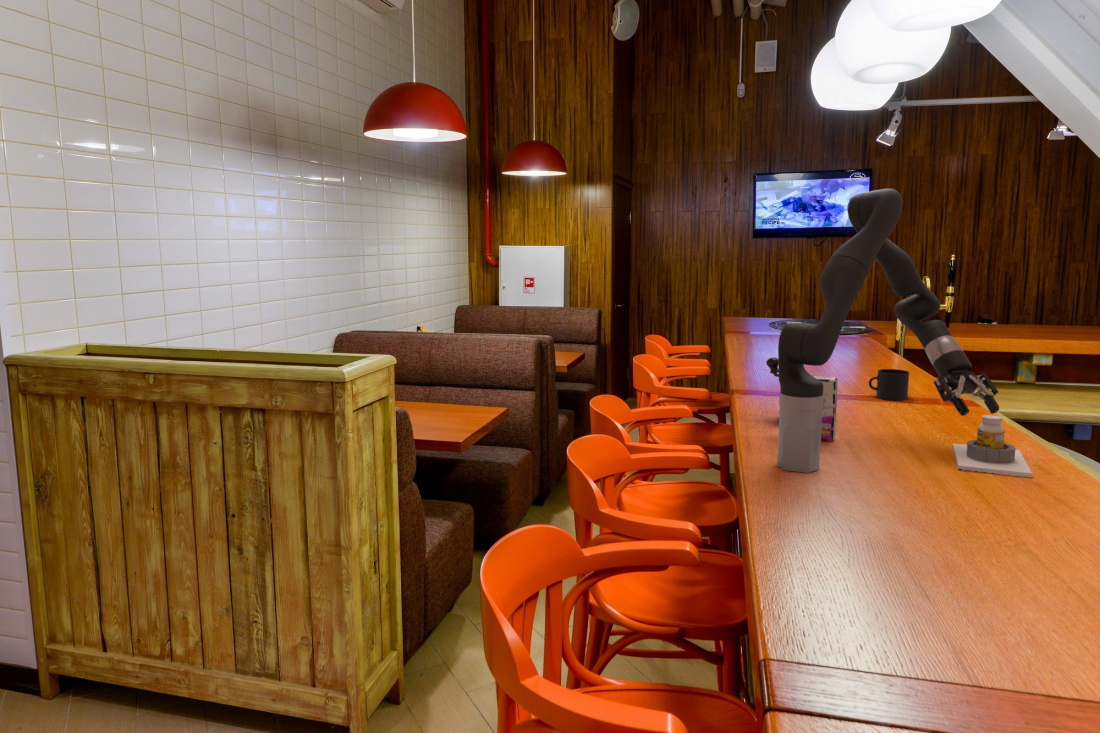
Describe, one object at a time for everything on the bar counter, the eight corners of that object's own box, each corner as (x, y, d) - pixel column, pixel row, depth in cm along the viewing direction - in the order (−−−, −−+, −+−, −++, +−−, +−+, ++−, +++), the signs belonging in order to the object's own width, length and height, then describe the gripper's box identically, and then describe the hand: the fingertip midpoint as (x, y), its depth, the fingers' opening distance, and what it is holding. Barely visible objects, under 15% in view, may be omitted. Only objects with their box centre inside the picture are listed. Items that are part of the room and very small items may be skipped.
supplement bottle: (1008, 458, 166) (1011, 418, 164) (990, 461, 164) (993, 420, 163) (987, 452, 171) (991, 413, 169) (970, 454, 169) (973, 415, 168)
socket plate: (1031, 477, 156) (1033, 460, 155) (958, 469, 162) (959, 452, 161) (1018, 453, 173) (1020, 437, 173) (952, 447, 179) (954, 432, 179)
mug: (866, 394, 245) (868, 367, 243) (905, 396, 241) (907, 369, 239) (868, 399, 236) (870, 372, 235) (909, 401, 232) (911, 374, 231)
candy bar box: (835, 437, 190) (838, 377, 187) (833, 442, 185) (836, 380, 183) (791, 433, 195) (794, 374, 192) (788, 437, 191) (791, 377, 188)
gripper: (932, 350, 174) (965, 406, 164) (981, 347, 177) (1016, 402, 168) (914, 368, 179) (946, 423, 170) (962, 365, 183) (995, 419, 174)
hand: (981, 412), depth 169 cm, fingers open, 8 cm apart
